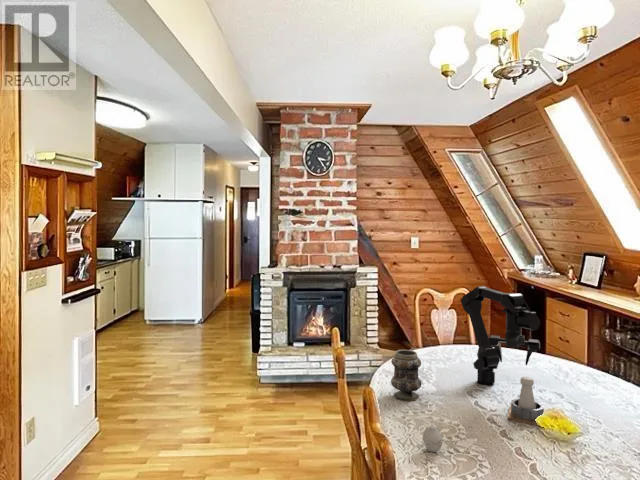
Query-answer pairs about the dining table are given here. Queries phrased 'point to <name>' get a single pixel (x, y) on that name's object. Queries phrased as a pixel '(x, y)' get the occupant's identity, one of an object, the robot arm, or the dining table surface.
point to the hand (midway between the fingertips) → (513, 363)
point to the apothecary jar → (406, 375)
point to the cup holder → (524, 413)
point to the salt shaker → (526, 394)
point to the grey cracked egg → (432, 439)
